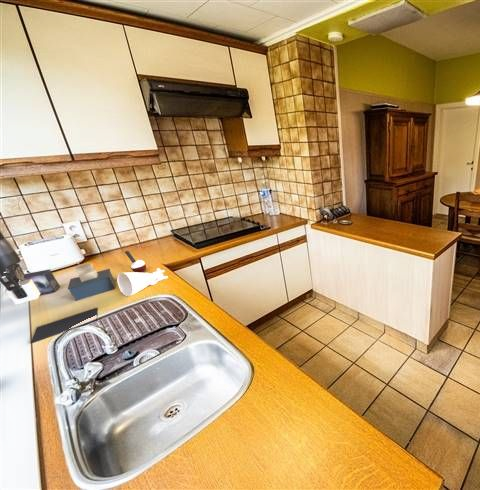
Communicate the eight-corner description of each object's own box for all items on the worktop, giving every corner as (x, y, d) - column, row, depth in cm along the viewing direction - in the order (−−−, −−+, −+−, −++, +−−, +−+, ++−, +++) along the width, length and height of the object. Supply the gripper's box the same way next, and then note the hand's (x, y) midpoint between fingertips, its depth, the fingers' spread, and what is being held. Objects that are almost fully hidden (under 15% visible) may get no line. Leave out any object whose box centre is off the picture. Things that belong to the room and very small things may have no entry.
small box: (24, 299, 127) (11, 280, 123) (32, 292, 133) (20, 274, 128) (54, 292, 132) (43, 274, 127) (61, 286, 137) (50, 268, 133)
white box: (15, 305, 95) (4, 289, 93) (18, 299, 99) (8, 284, 96) (38, 298, 99) (28, 283, 96) (40, 293, 102) (31, 278, 99)
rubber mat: (31, 343, 98) (30, 342, 98) (37, 328, 106) (36, 327, 106) (96, 320, 109) (96, 319, 109) (97, 307, 117) (97, 307, 117)
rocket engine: (163, 258, 138) (121, 267, 122) (176, 274, 137) (135, 286, 120) (156, 272, 143) (114, 283, 126) (168, 288, 141) (128, 301, 125)
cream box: (81, 281, 125) (74, 269, 123) (82, 278, 129) (75, 266, 126) (97, 277, 129) (91, 265, 126) (97, 274, 132) (91, 262, 130)
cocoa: (148, 272, 147) (140, 252, 142) (134, 276, 143) (125, 256, 138) (146, 266, 153) (138, 248, 148) (132, 270, 149) (123, 251, 145)
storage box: (75, 301, 123) (67, 288, 120) (77, 291, 132) (70, 279, 129) (115, 288, 132) (109, 276, 129) (115, 280, 140) (109, 268, 137)
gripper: (-14, 250, 94) (14, 291, 100) (-29, 263, 84) (3, 307, 91) (18, 244, 98) (43, 283, 105) (8, 255, 88) (36, 298, 95)
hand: (25, 294), depth 98 cm, fingers closed on white box, 5 cm apart
